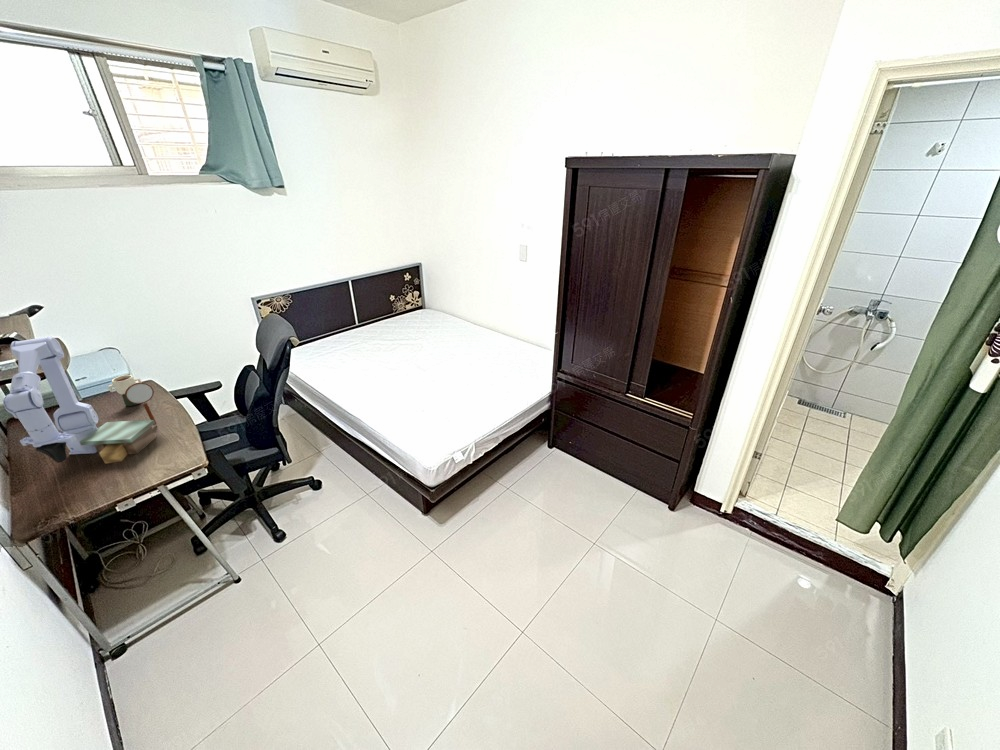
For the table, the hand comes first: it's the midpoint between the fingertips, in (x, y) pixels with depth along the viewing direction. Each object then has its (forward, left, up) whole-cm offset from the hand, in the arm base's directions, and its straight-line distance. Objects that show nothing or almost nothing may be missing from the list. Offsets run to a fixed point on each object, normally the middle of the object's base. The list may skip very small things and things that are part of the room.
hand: (62, 460), depth 129 cm
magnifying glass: (+4, +33, -10) cm, 35 cm away
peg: (+3, +16, -10) cm, 19 cm away
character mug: (-18, +53, -10) cm, 57 cm away
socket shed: (+3, +19, -9) cm, 21 cm away
